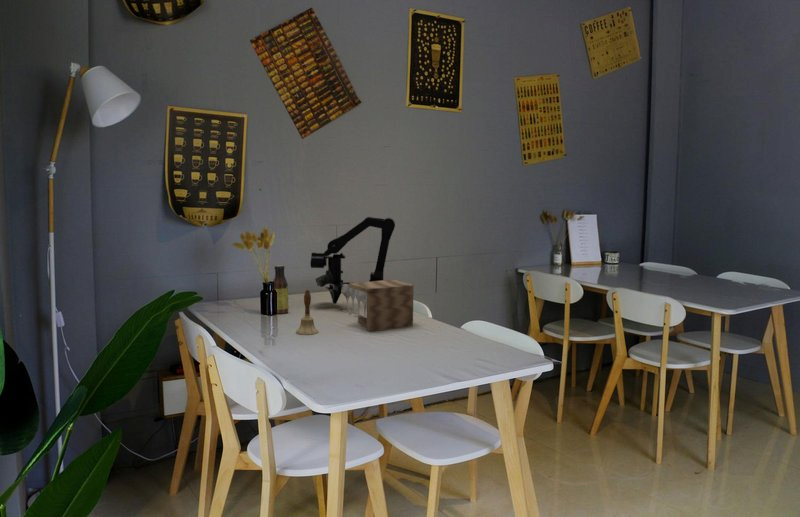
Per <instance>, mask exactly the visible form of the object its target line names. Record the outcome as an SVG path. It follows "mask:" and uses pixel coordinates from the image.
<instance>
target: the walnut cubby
mask: <svg viewBox="0 0 800 517" xmlns="http://www.w3.org/2000/svg"><path fill="white" fill-rule="evenodd" d="M349 287H350V288H353V289H356V290H359V291H362V292H365V293H367V305H366V316H365V317H363V316H364V315H362V316H358V317H357V323H358V324H360V325H363V326H366V332H367V333H371V332H376V331H384V330H391V329H392V330H393V329H399V328H405V327H412V326H413V325H414V289H415V288H414V285H413V284H410V283H407V282H403V281H401V280H396V279H384V280H382V281H371V282H369V281H363V282H361V281H360V282H350V284H349Z"/></svg>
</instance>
